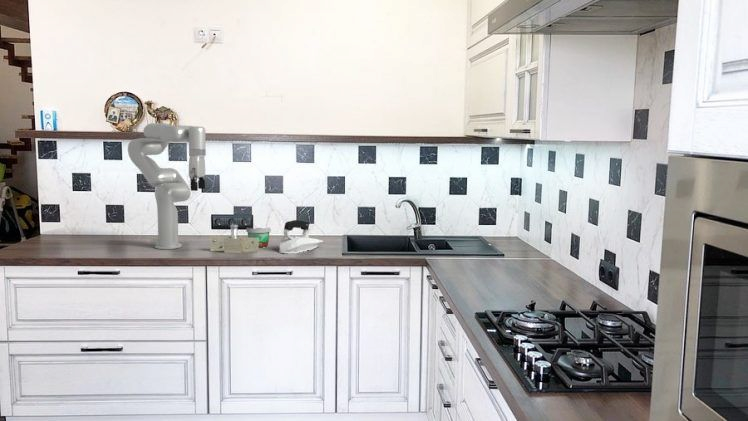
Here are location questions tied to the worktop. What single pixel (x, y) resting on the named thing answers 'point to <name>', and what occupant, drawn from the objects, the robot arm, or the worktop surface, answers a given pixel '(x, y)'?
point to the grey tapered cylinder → (233, 231)
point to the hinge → (234, 244)
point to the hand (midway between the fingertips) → (197, 189)
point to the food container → (259, 235)
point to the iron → (297, 238)
